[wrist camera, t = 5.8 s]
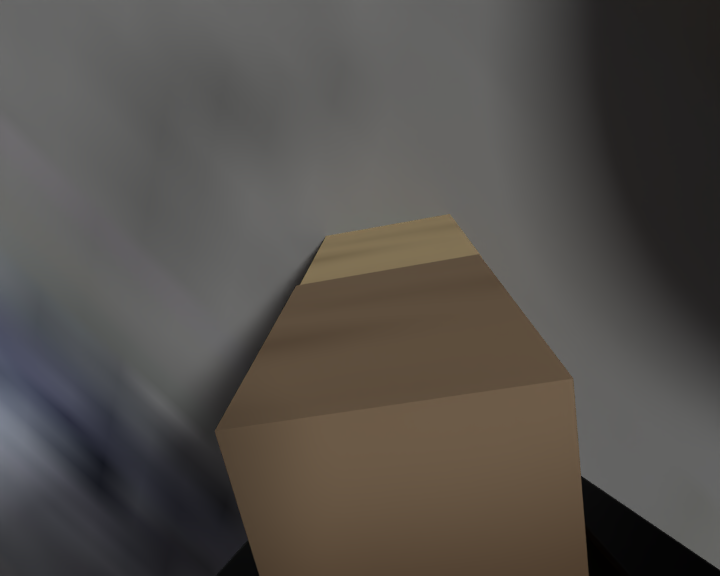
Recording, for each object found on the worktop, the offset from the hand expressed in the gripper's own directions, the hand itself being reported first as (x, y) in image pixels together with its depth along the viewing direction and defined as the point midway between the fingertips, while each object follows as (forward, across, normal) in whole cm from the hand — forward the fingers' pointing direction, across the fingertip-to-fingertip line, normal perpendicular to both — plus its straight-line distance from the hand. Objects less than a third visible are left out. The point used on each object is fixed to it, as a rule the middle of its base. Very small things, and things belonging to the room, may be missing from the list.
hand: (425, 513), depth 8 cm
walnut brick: (+2, 0, 0) cm, 2 cm away
